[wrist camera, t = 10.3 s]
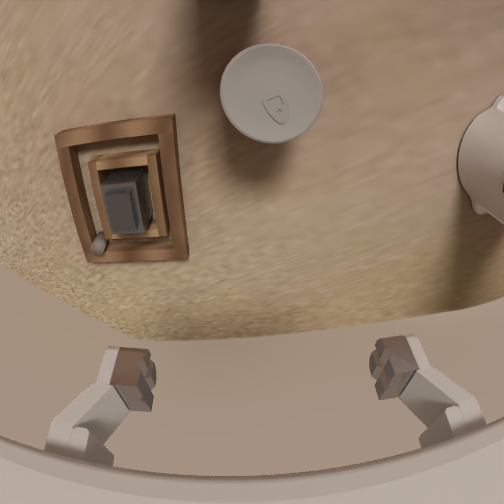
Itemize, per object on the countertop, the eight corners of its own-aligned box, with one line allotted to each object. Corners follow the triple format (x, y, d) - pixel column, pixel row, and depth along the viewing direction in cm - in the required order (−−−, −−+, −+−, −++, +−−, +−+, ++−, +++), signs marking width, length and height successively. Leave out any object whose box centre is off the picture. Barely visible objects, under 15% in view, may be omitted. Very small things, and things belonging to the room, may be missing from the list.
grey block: (146, 165, 35) (133, 185, 30) (153, 211, 38) (142, 236, 34) (114, 168, 35) (97, 188, 30) (123, 213, 38) (109, 238, 33)
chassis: (175, 114, 32) (170, 119, 29) (189, 249, 42) (186, 263, 39) (62, 130, 31) (50, 138, 28) (92, 254, 41) (85, 267, 39)
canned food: (255, 130, 33) (266, 163, 24) (206, 77, 30) (195, 87, 21) (311, 89, 31) (344, 105, 22) (263, 32, 27) (279, 22, 18)
